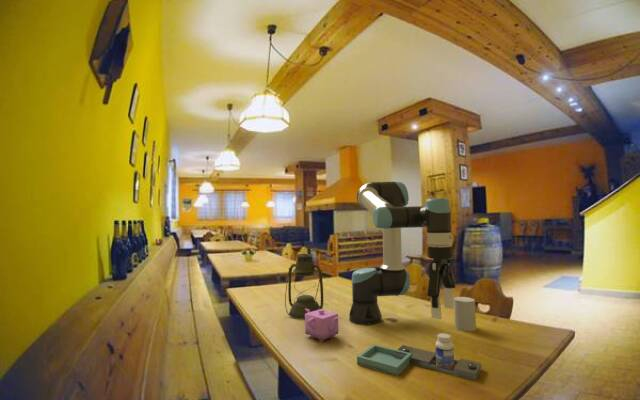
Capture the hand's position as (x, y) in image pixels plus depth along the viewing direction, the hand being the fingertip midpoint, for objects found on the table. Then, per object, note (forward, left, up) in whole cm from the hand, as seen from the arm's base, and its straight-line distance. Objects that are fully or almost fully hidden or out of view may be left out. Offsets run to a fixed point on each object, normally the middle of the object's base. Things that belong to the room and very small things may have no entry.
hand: (443, 313), depth 102 cm
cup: (-3, +41, -17) cm, 45 cm away
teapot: (-48, -1, -17) cm, 51 cm away
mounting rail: (-3, 0, -17) cm, 17 cm away
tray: (-17, -8, -17) cm, 25 cm away
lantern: (-74, +20, -17) cm, 79 cm away
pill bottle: (0, 0, -17) cm, 17 cm away
